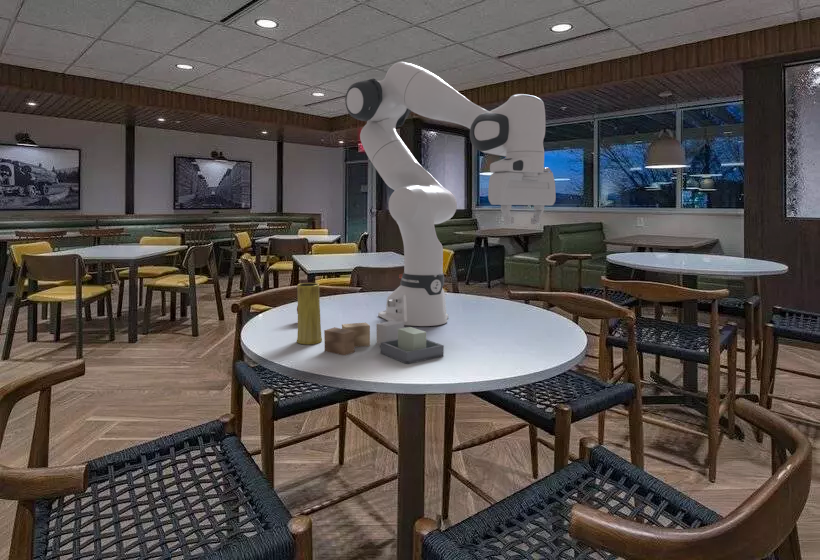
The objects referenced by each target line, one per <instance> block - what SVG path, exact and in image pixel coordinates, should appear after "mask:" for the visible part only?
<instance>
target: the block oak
mask: <svg viewBox="0 0 820 560" xmlns="http://www.w3.org/2000/svg"><path fill="white" fill-rule="evenodd" d="M341 329H346V330H352V331H354V348H357V347H367V346H368V347H370V346H371V325H370V324H369V323H367V322H355V323H352V322H351V323H342V324H341Z"/></svg>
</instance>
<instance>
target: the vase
mask: <svg viewBox="0 0 820 560" xmlns="http://www.w3.org/2000/svg"><path fill="white" fill-rule="evenodd" d="M296 289H297V290H296V291H297V306H298V314H297V338H296V342H297V343H298V344H300V345H304V346H305V345H316V344H319V343H321V342H322V341H323V339H322V327H321V324H322V323H321V304H320V303H321V302H320V284H319V283H316V282H302V283H298V284H297V286H296Z"/></svg>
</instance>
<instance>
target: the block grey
mask: <svg viewBox="0 0 820 560" xmlns="http://www.w3.org/2000/svg"><path fill="white" fill-rule="evenodd" d="M401 328H405V325H404V322H401V321H396V320H392V321H388V320H386V321H383V322H379V323H376V344H377V345H380V342H385V341H391V340H397V339H398V329H401Z"/></svg>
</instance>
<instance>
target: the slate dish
mask: <svg viewBox="0 0 820 560" xmlns="http://www.w3.org/2000/svg"><path fill="white" fill-rule="evenodd" d="M379 346H380V348H379V349H380V354H383V355H385V356H387V357H389V358H392V359H394V360H396V361H399V362H401V363H404V364H406V365H409V364H413V363H418V362H423V361H428V360H432V359H437V358H441V357H444V351H445V350H444V347H445V345H444V344H441V343H438V342H435V341H432V340H430V339H426V348H423V349H418V350H413V351H408V352H407V351H405V350H402V349H400V348H398V339H397V340H391V341H385V342H380V344H379Z"/></svg>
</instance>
